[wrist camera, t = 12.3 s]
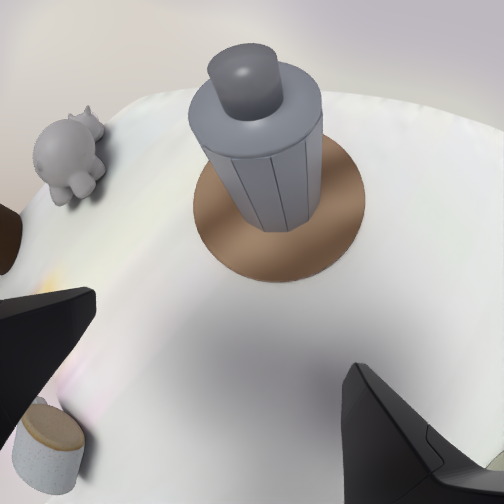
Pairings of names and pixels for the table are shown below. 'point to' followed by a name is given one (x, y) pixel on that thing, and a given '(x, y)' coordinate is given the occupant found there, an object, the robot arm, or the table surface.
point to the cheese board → (284, 243)
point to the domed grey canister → (262, 135)
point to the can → (497, 463)
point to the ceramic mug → (48, 448)
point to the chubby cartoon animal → (69, 156)
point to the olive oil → (9, 237)
